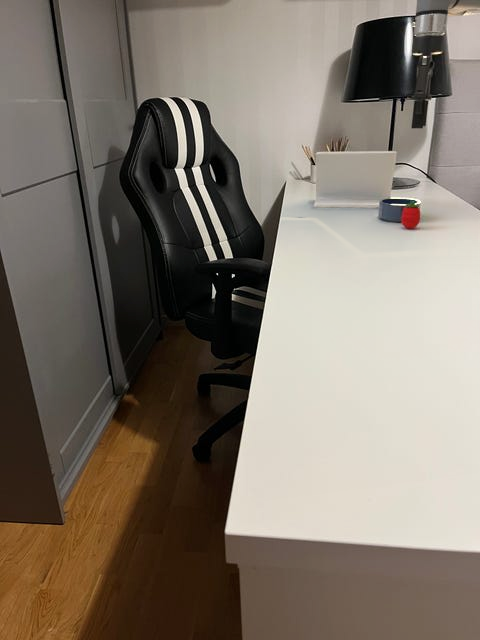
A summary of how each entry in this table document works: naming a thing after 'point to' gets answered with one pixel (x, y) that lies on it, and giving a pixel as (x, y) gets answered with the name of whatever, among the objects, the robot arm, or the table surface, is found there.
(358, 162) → the tablet stand
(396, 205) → the bowl
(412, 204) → the strawberry
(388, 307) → the table surface
